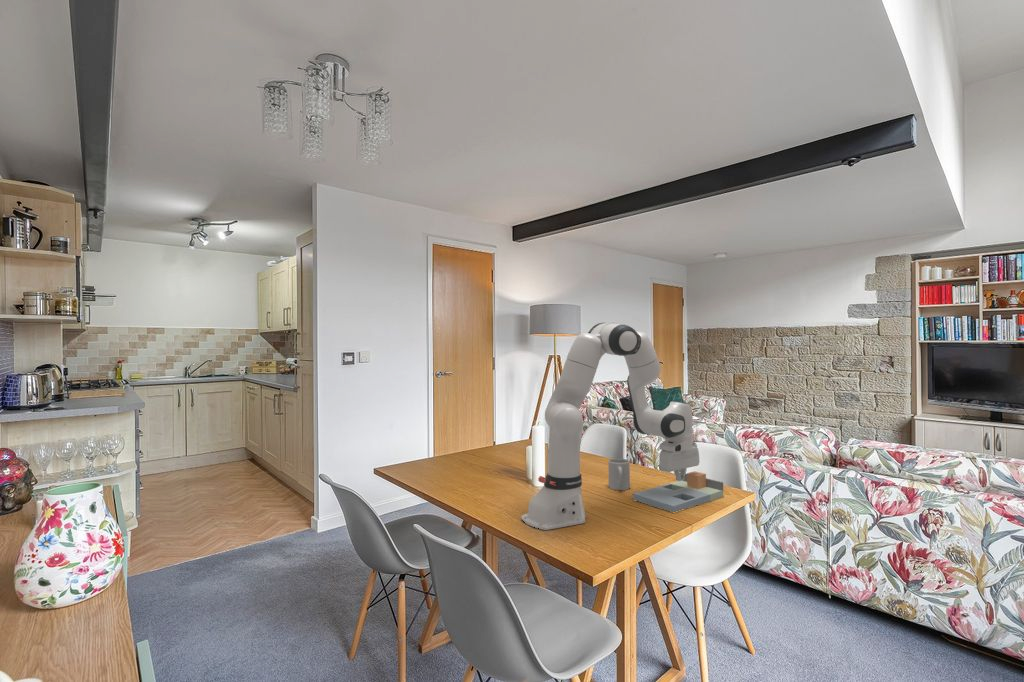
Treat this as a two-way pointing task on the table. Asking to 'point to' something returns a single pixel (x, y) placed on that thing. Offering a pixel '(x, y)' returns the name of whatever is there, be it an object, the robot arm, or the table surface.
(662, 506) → the platform
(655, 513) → the table surface
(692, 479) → the block
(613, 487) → the mug
